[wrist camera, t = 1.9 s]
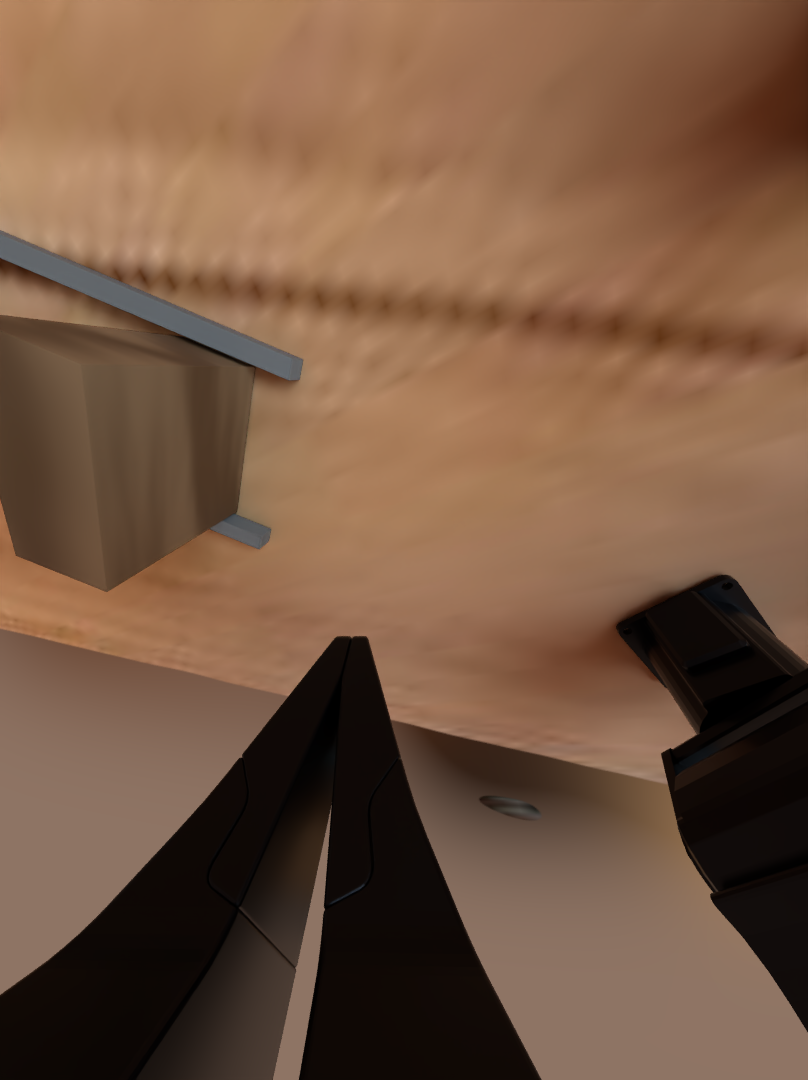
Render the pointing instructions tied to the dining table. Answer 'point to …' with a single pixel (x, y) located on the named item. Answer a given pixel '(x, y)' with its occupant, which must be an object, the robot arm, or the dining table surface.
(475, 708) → the dining table surface
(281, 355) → the backstop rail
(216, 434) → the walnut block
